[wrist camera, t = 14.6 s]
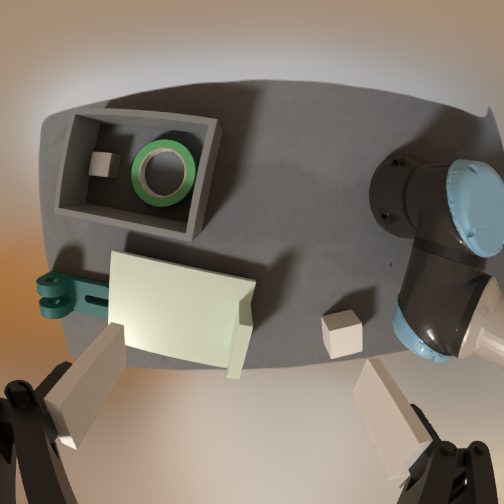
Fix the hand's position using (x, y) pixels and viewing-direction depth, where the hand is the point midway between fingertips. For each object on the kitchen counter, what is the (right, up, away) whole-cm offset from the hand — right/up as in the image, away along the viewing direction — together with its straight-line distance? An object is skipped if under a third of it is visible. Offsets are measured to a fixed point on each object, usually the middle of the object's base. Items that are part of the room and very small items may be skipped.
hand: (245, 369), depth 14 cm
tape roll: (-14, +19, +31) cm, 39 cm away
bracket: (-33, -2, +36) cm, 49 cm away
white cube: (+17, -8, +38) cm, 42 cm away
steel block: (-25, +21, +30) cm, 44 cm away
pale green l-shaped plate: (-13, -4, +36) cm, 38 cm away
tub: (-18, +20, +31) cm, 41 cm away
